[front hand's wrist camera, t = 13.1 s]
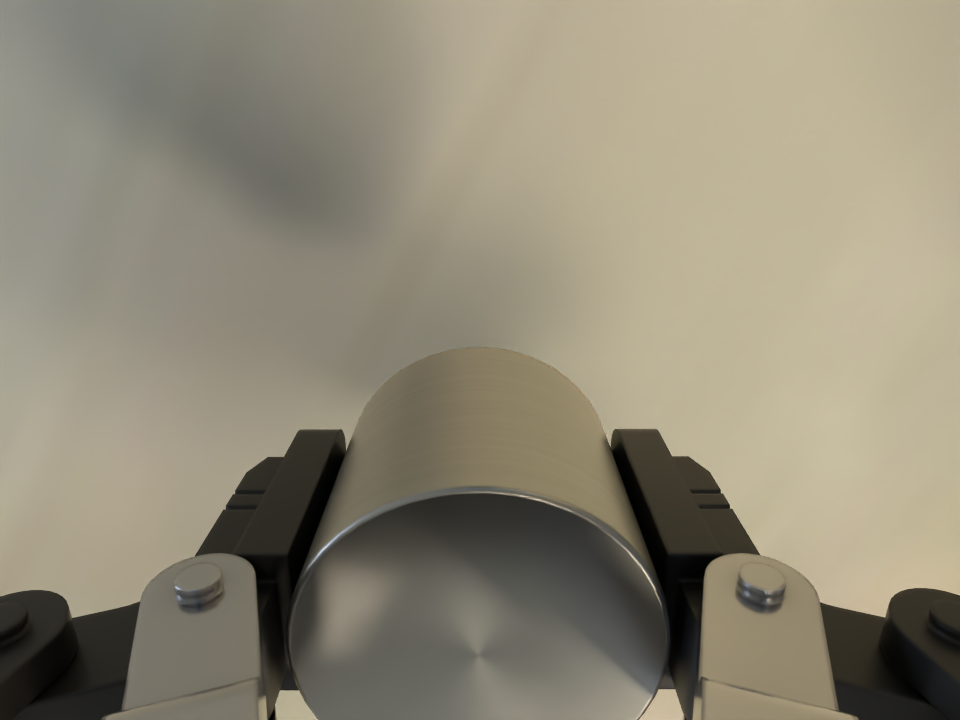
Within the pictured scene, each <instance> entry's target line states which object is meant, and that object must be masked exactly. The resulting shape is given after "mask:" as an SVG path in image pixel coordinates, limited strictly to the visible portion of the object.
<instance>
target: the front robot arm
mask: <svg viewBox="0 0 960 720" xmlns="http://www.w3.org/2000/svg"><path fill="white" fill-rule="evenodd" d="M611 451H612V454H613V456H614V459H615V462H616V465H617V467H618V470H619V473H620V475H621V478H622V481H623V484H624V486H625V489H626V492H627V494H628V497H629V500H630V503H631V505H632V508H633V511H634V513H635V516H636V519H637V521H638V524H639V527H640V530H641V532H642V535H643V538H644V540H645V543H646V546H647V549H648V551H649V554H650V557H651V559H652V562H653V565H654V568H655V570H656V573H657V576H658V578H659V581H660V584H661V586H662V589H663V592H664V595H665V597H666V602H667V606H668V610H669V615H670V624H671V643H670V652H669V659H668V663H667V667H666V670H665V674H664V677H663V680H662V682H661V684H660V687H659V689H676V692H677V696H678V699H679V702H680V705H681V708H682V711H683V713H684V715H683V720H960V596H959V595H956V594H953V593H949V592H946V591H941V590H936V589H927V588H914V589H907V590H904V591H901V592H899V593H897V594H895V595H894V596H893V597H892V599H891V600H890V603H889V606H888V610H887V613H886V617H885V618H884V617H879V616H875V615H870V614H866V613H861V612H857V611H852V610H847V609H843V608H838V607H834V606H830V605H827V604H823V603H820V601H819V597H818V594H817V592H816V590H815V588H814V586H813V585H812V584H811V583H810V582H809V580H808V579H806V578H805V577H804V576H803V575H802V574H801V573H799V572H798V571H796V570H795V569H793V568H792V567H790V566H788V565H786V564H784V563H782V562H780V561H777V560H775V559H772V558H769V557H765V556H761V555H760V554H759V552H758V551H757V549H756V547H755V546H754V544H753V542H752V541H751V539H750V537H749V536H748V534H747V533H746V531H745V529H744V528H743V526H742V524H741V523H740V521H739V519H738V518H737V516H736V514H735V513H734V511H733V510H732V509H730V505H729V503H728V501H727V500H726V498H725V496H724V495H723V494H721V490H720V488H719V487H718V485H717V483H716V482H715V480H714V478H713V477H712V475H711V473H710V472H709V471H708V470H706V469H705V468H703V467H702V466H701V465H699V464H698V463H697V462H695V461H694V460H692V459H691V458H690V457H678V456H671V454H670V452H669V450H668V448H667V446H666V444H665V442H664V440H663V439H662V437H661V435H660V433H659V431H658V430H657V429H615V430H614V431H613V434H612V439H611ZM345 454H346V443H345V437H344V433H343V431H342V430H299V431H298V432H297V434H296V436H295V438H294V440H293V441H292V443H291V445H290V447H289V449H288V451H287V452H286V454H285V456H284V457H267V458H266V459H265V460H263V461H262V462H261V463H259V464H258V465H256V466H255V467H254V468H252V469H251V470H249V471H248V472H247V473H246V474H245V476H244V477H243V479H242V481H241V482H240V484H239V485H238V487H237V489H236V490H235V494H233V495H232V497H231V498H230V500H229V502H228V503H227V505H226V510H223V511H222V513H221V515H220V516H219V518H218V519H217V521H216V523H215V524H214V526H213V528H212V529H211V531H210V532H209V534H208V536H207V537H206V539H205V540H204V542H203V544H202V545H201V547H200V549H199V550H198V552H197V553H196V555H195V557H191V558H188V559H185V560H183V561H180V562H178V563H176V564H174V565H172V566H170V567H168V568H167V569H165V570H164V571H162V572H161V573H159V574H158V575H157V576H156V577H155V578H154V579H152V580H151V582H150V583H149V584H148V585H147V586H146V588H145V590H144V592H143V594H142V597H141V601H140V602H137V603H134V604H132V605H128V606H125V607H121V608H117V609H112V610H108V611H103V612H99V613H94V614H89V615H85V616H80V617H76V618H72V617H71V614H70V610H69V606H68V604H67V601H66V600H65V599H64V598H63V597H62V596H60V595H59V594H57V593H54V592H51V591H44V590H30V591H22V592H17V593H12V594H8V595H5V596H1V597H0V720H277V715H276V709H275V703H276V700H277V697H278V694H279V691H280V690H299V689H298V687H297V685H296V683H295V679H294V676H293V673H292V670H291V667H290V664H289V658H288V652H287V645H286V621H287V615H288V610H289V604H290V601H291V598H292V595H293V592H294V590H295V587H296V584H297V581H298V579H299V576H300V573H301V571H302V568H303V565H304V563H305V560H306V557H307V555H308V552H309V549H310V547H311V544H312V541H313V539H314V536H315V533H316V531H317V528H318V526H319V523H320V520H321V518H322V515H323V512H324V510H325V507H326V504H327V502H328V499H329V496H330V494H331V491H332V488H333V486H334V483H335V480H336V478H337V475H338V472H339V470H340V467H341V464H342V462H343V459H344V456H345Z"/></svg>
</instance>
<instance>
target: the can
mask: <svg viewBox="0 0 960 720" xmlns="http://www.w3.org/2000/svg"><path fill="white" fill-rule="evenodd" d="M670 643H671V624H670V615H669V610H668V606H667V602H666V597H665V595H664V592H663V589H662V586H661V584H660V581H659V578H658V576H657V573H656V570H655V568H654V565H653V562H652V559H651V557H650V554H649V551H648V549H647V546H646V543H645V540H644V538H643V535H642V532H641V530H640V527H639V524H638V521H637V519H636V516H635V513H634V511H633V508H632V505H631V503H630V500H629V497H628V494H627V492H626V489H625V486H624V484H623V481H622V478H621V475H620V473H619V470H618V467H617V465H616V462H615V459H614V456H613V454H612V451H611V448H610V446H609V443H608V440H607V438H606V435H605V432H604V429H603V427H602V425H601V422H600V420H599V417H598V415H597V413H596V412H595V410H594V408H593V406H592V405H591V403H590V401H589V400H588V399H587V398H586V397H585V395H584V394H583V393H582V392H581V390H580V389H579V388H578V387H577V386H576V385H575V384H574V383H572V382H571V381H570V380H569V379H568V378H567V377H566V376H564V375H563V374H561V373H560V372H559V371H557V370H556V369H554V368H553V367H551V366H549V365H547V364H545V363H543V362H541V361H540V360H537V359H535V358H532V357H529V356H527V355H524V354H521V353H517V352H513V351H509V350H504V349H496V348H487V347H479V348H462V349H454V350H448V351H445V352H441V353H437V354H434V355H431V356H428V357H426V358H423V359H421V360H418V361H416V362H414V363H413V364H411V365H409V366H407V367H405V368H404V369H402V370H400V371H399V372H398V373H396V374H395V375H394V376H393V377H391V378H390V379H389V380H387V381H386V382H385V383H384V384H383V385H382V386H381V387H380V388H379V389H378V390H377V391H376V392H375V394H374V395H373V396H372V398H371V399H370V400H369V402H368V403H367V404H366V406H365V408H364V410H363V412H362V413H361V415H360V417H359V419H358V422H357V424H356V427H355V430H354V432H353V435H352V438H351V440H350V443H349V446H348V448H347V451H346V454H345V456H344V459H343V462H342V464H341V467H340V470H339V472H338V475H337V478H336V480H335V483H334V486H333V488H332V491H331V494H330V496H329V499H328V502H327V504H326V507H325V510H324V512H323V515H322V518H321V520H320V523H319V526H318V528H317V531H316V533H315V536H314V539H313V541H312V544H311V547H310V549H309V552H308V555H307V557H306V560H305V563H304V565H303V568H302V571H301V573H300V576H299V579H298V581H297V584H296V587H295V590H294V592H293V595H292V598H291V601H290V604H289V610H288V615H287V621H286V645H287V652H288V658H289V664H290V667H291V670H292V673H293V676H294V679H295V683H296V685H297V687H298V689H299V691H300V693H301V695H302V697H303V699H304V701H305V702H306V704H307V705H308V706H309V708H310V709H311V711H312V712H313V713H314V715H315V716H316V718H317V719H318V720H639V719H640V717H641V716H642V715H643V714H644V713H645V711H646V709H647V708H648V706H649V705H650V703H651V702H652V700H653V699H654V697H655V695H656V693H657V691H658V689H659V687H660V684H661V682H662V680H663V677H664V674H665V670H666V667H667V663H668V659H669V652H670Z"/></svg>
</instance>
